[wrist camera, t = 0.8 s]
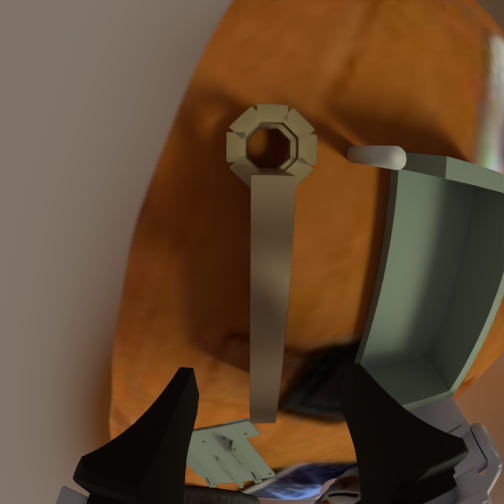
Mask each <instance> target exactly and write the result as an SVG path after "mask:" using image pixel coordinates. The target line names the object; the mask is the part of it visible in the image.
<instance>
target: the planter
mask: <svg viewBox="0 0 504 504" xmlns="http://www.w3.org/2000/svg"><path fill="white" fill-rule="evenodd" d="M184 504H260V501H259V500H258V499H257V498H255V497H253V496H250V495H247V494H243V493H238V492H233V491H227V490H221V489H213V488H204V487H190V486H184Z"/></svg>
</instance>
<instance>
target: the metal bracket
mask: <svg viewBox="0 0 504 504" xmlns="http://www.w3.org/2000/svg"><path fill="white" fill-rule="evenodd" d="M245 433H247V434H245ZM258 435H259V431H258V430H257V428H256V427H255V425H254V424H253V423H250V419H249V418H243V419H239V420H235V421H231V422H226V423H223V424H222V425H218V426H213V427H207V428H202V429H196V430H193V432H192V437H191V441H190V445H189V449H188V455H187V462H186V464H187V465H188V466H189V467H190V468H191V469H192V470H193V471H194V472H195V473H197V474H198V475H200V476H201V477H202V478H203V479H204V480H205V481H206V482H207V484H208V485H209V487H216V486H217V484H221V483H232V482H236V483H237V484H238V485H239V486H240V488H243V482H244V481H249V480H254V482H255V483H258V482H259V483H260V482H262V478H268V477H274V476H275V473H274V472H273V471H272V470H271V468H270V467H269V466H268V465H267V464H266V462H265V461H264V460H263V459H262V457H261V456H260V455H259V454H258V452H257V451H256V450H255V449H254V447H253V446H252V445H251V443H250V442H249V441H248V440H247V438H249V437H253V436H258ZM223 437H225V438H223ZM268 473H271V474H268Z"/></svg>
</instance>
